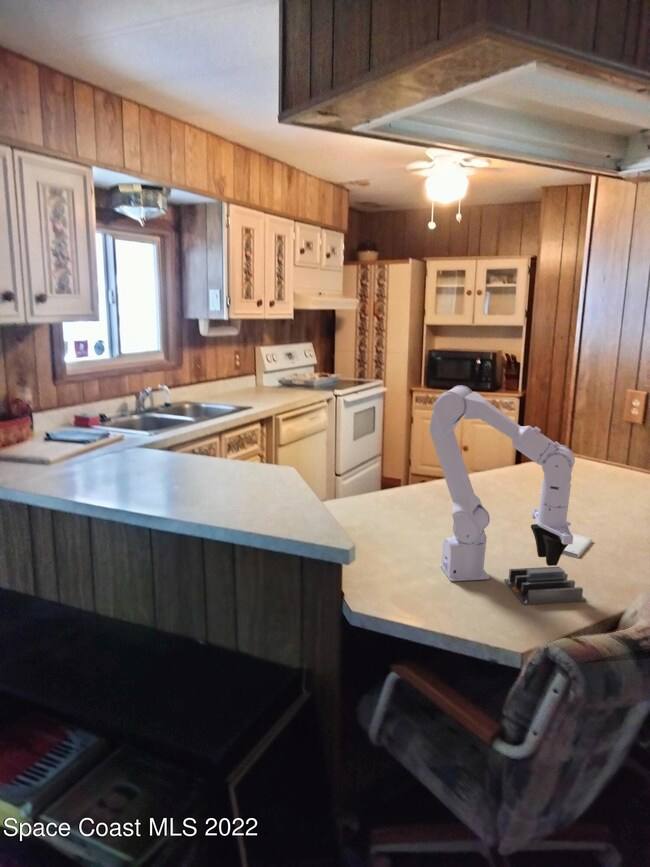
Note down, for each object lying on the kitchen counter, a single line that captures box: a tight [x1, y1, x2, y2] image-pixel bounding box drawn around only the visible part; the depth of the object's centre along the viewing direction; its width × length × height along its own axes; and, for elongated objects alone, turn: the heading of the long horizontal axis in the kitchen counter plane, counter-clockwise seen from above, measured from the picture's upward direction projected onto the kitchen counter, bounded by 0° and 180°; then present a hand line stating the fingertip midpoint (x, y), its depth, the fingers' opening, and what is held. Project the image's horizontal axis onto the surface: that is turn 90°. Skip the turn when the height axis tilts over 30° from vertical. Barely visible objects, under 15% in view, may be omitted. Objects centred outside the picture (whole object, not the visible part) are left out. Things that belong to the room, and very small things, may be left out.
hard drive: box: [562, 532, 593, 559], centre depth 159 cm, size 2×8×12 cm
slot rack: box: [503, 566, 587, 606], centre depth 135 cm, size 14×10×3 cm
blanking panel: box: [526, 567, 566, 583], centre depth 135 cm, size 8×2×4 cm, turn 97°
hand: (547, 560), depth 134 cm, fingers open, 3 cm apart
